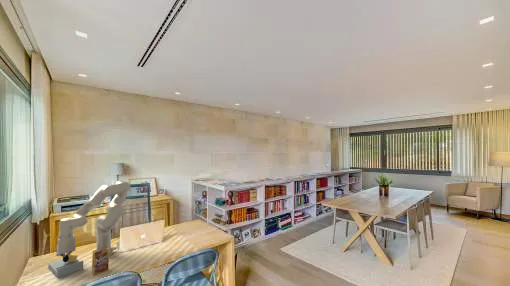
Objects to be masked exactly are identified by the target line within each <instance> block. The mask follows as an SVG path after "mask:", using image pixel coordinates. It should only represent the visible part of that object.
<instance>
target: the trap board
mask: <svg viewBox="0 0 510 286" xmlns="http://www.w3.org/2000/svg"><path fill="white" fill-rule="evenodd" d="M47 265H48V266H47V267H48V268H47V269H49V271H51V272H52V274H53V275H54V276H55V277H56V279H59V278H61V277H64V276H67V275H70V274H72V273H76V272H78V271H80V270H84V260H79V259H78V258H77V259H76V261H74V262H69V261H68V262H64V261H63V258H61V259H58V260H55V261H52V262H49V263H47Z"/></svg>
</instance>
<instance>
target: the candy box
mask: <svg viewBox="0 0 510 286" xmlns="http://www.w3.org/2000/svg"><path fill="white" fill-rule="evenodd" d="M109 259H110V256H109V248H108V247H105V248H102V249H98V250H96V249H95V250H92V260H91V261H92V262H91V263H92V264H91V274H92V275H93V276H95V275H97V274H100V273H103V272H107V271H109V262H110V261H109Z"/></svg>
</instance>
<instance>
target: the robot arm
mask: <svg viewBox="0 0 510 286" xmlns="http://www.w3.org/2000/svg"><path fill="white" fill-rule="evenodd" d="M130 190H131V184H130V183H129V181H124V180H117V181H116V182H114V184H112V185H111V184H110V185H109V184H102V185H101V186H100V187H99V188H98V189H97V190H96V191H95V193H94V194H93V195H92V196H91V197H90V198H89V199H88V201H86V202H85V203H83V205H82V206H80V207H79V208H78V209H77V210H76V211H75V213H74V214H73V215H72V216H70V217H64V218H61V219H60V220H59V235H57V236H56V239H57V242H56V249H55V252H56V254H55V256H56V257H62V259H63V261H64V262H68V260H69V255H70V254H72V253H73V252H75V251H76V249H77V248H76V247H77V244H76V243H77V241H76V237H75V236H76V235H74V228H79V227H80V228H81V227H84V226H85V225H87V223H88V218H87V217H86V216H87V215H88V214H89V213H90V212H91V211H92V210H94V209H96V208H99V207H100V206H101V205H102V204H103V202H105V201H106V198H108V197H109V198H111V197H113V196H114V197H113V198H112V200H111V201H110V202H109V204H108V205H107V207H106V209H105V210H106V213H107V214H101V215H99V216H98V217H97V219H96V221H95V227H96V228H95V229H96V242H95V243H96V248H95V250H98V249H102V248H105V247H108V248H109V257H112V255H113V254H114V251H116V250H118V246H112V229H113V228H114V227H115V226H116V224H117V223H118V222H119V220H120V219H121V217H122V215H123V213H124V212H125V211H124V210H125V208H124V206H123V205H124V203H125V201H126V199H127V197H128V192H129V191H130Z"/></svg>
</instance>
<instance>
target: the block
mask: <svg viewBox="0 0 510 286" xmlns="http://www.w3.org/2000/svg"><path fill="white" fill-rule="evenodd" d="M78 256H79V255H78V254H77V253H71V254H70V255H69V260H68V261H69V262H74V261H76V259H77V260H78Z"/></svg>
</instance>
